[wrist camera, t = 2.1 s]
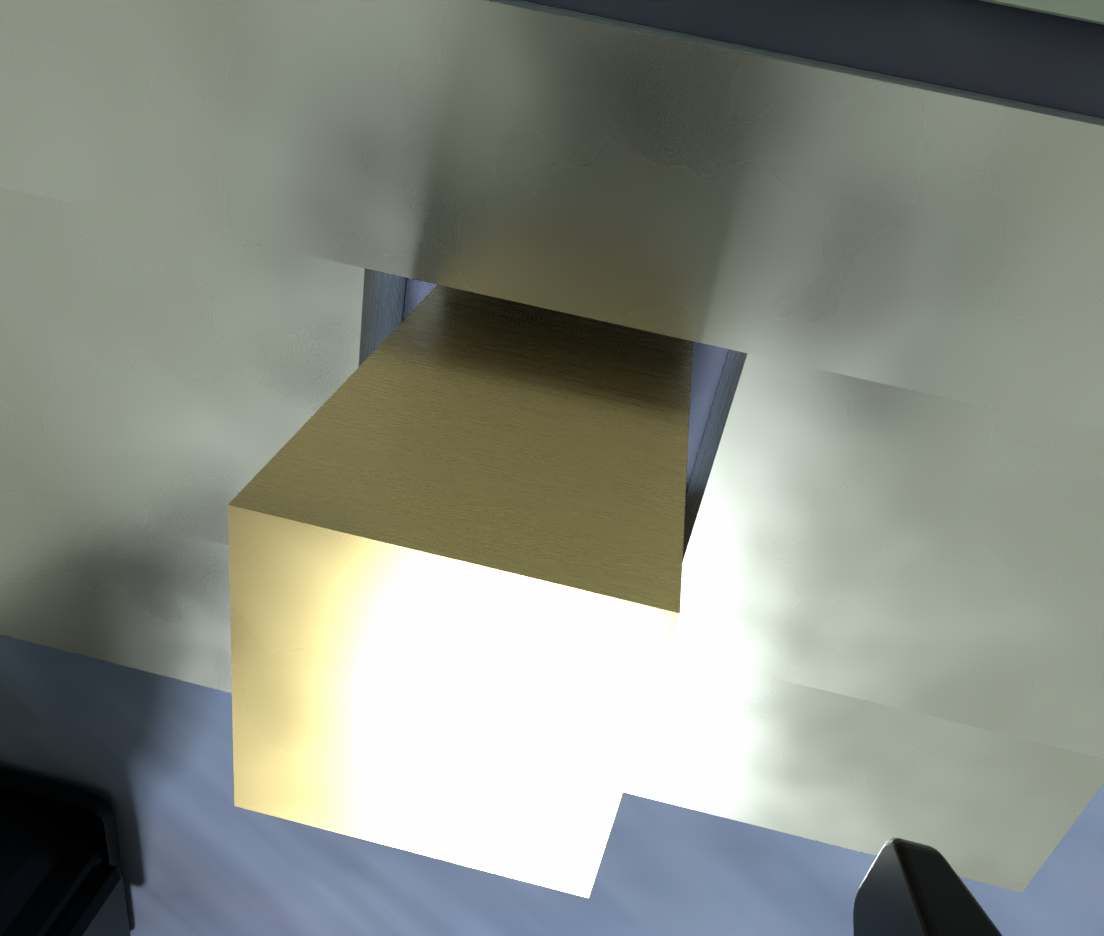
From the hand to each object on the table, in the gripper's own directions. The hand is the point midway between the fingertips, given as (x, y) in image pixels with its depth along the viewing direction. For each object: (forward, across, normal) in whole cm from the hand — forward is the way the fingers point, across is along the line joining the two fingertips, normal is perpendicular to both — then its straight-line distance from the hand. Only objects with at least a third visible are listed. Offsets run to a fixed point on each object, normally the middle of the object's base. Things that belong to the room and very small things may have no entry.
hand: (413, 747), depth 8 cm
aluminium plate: (+7, 0, 0) cm, 7 cm away
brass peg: (+7, 0, 0) cm, 7 cm away
